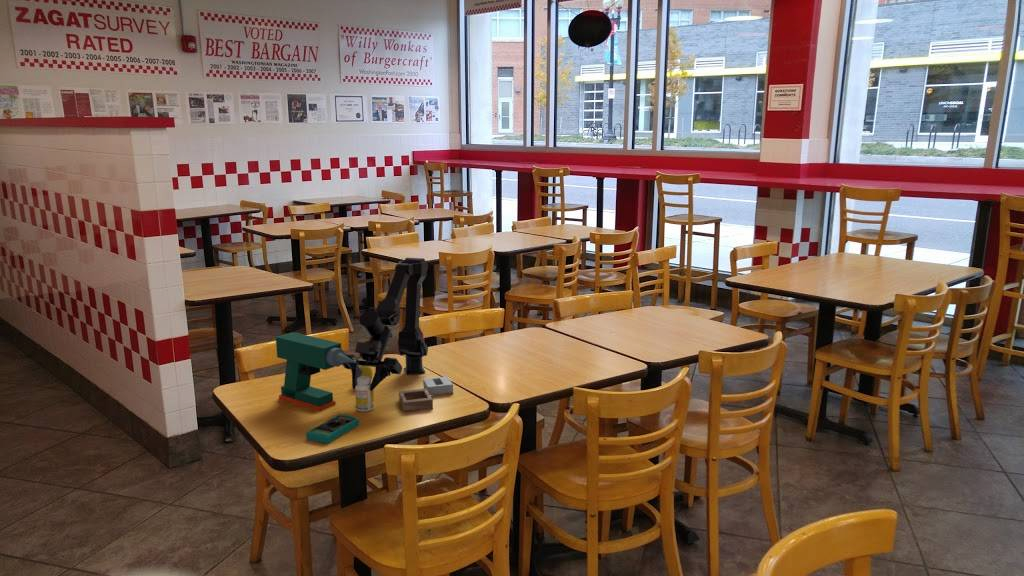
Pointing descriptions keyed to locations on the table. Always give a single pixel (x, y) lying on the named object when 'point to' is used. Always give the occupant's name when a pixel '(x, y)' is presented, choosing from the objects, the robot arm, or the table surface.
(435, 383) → the grey slot block
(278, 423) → the table surface
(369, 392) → the supplement bottle
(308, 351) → the power tool
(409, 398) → the walnut socket block
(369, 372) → the lemon
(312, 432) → the digital multimeter
